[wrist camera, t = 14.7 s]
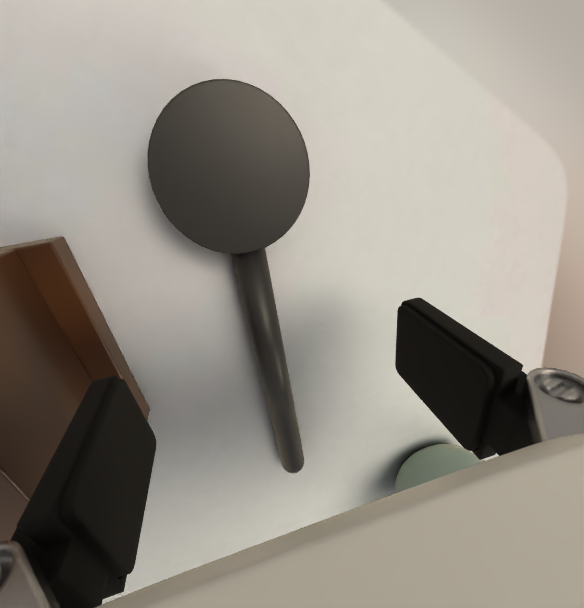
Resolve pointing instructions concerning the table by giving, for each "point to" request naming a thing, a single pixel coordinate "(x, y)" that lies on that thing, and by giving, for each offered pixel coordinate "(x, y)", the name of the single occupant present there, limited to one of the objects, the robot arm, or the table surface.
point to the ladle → (237, 207)
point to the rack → (45, 363)
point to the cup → (433, 465)
